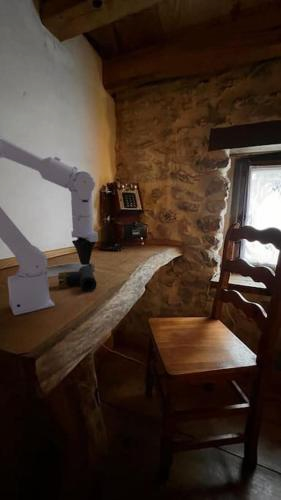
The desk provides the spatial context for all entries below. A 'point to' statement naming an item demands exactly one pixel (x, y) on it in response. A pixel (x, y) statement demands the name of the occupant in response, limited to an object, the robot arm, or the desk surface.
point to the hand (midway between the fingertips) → (85, 264)
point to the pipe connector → (78, 279)
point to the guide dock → (66, 268)
